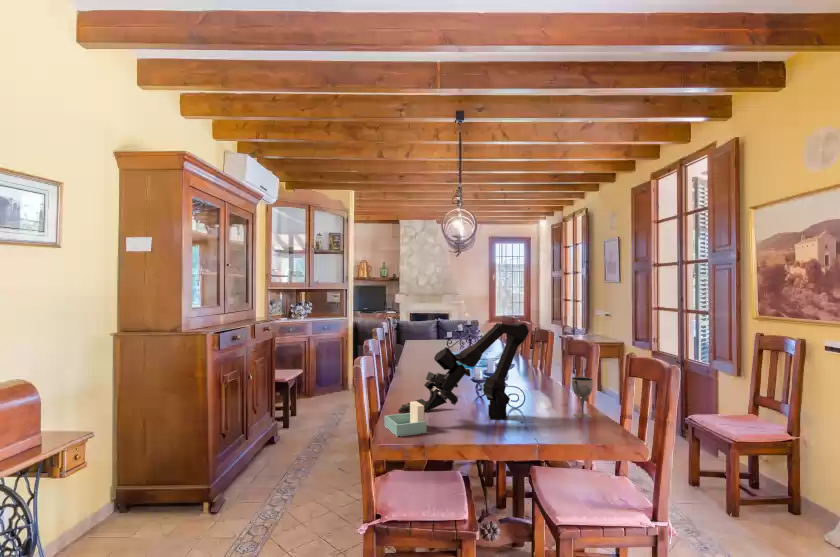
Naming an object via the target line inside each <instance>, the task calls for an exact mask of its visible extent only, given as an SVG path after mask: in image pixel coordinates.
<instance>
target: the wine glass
mask: <svg viewBox="0 0 840 557" xmlns="http://www.w3.org/2000/svg"><path fill="white" fill-rule="evenodd" d="M593 381H594V379H593V378H592V377H588V376H573V377H571V386H572V391H573V393H574V394H575V395H576V397H577V399H579V401H580V407H581V412H580V413H574V414H573V415H572V416H573V417H574V416H575V417H574V418H577V419H591V418H593V416H592V415H591V414H587V413H584V406H585V401H586V400H587V399H588V398H589V396H591V394H592V391H593V385H594V382H593Z"/></svg>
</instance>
